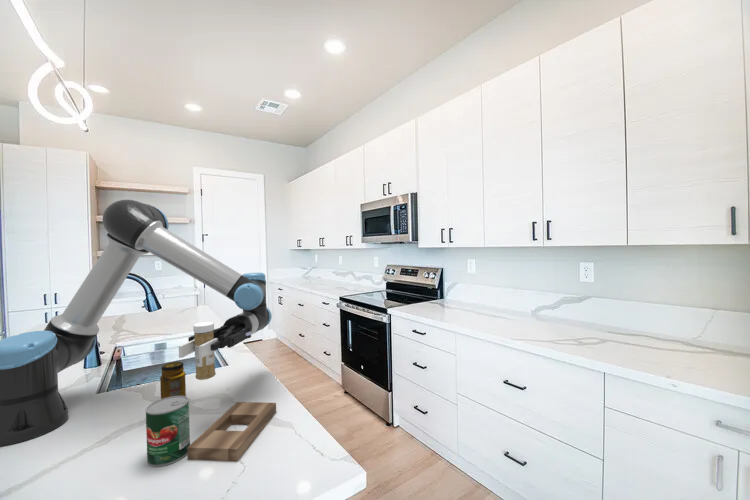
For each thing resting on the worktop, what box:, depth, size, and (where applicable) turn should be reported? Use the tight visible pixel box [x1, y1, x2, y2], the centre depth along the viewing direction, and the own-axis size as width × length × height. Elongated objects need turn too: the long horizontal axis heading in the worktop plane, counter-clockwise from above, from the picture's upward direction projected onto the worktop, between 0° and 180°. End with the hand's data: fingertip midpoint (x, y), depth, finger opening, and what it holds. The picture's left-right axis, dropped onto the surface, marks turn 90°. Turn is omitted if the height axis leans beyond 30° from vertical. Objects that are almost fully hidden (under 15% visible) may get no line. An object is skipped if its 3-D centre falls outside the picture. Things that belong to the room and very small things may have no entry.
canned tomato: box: [145, 395, 191, 468], centre depth 70 cm, size 8×8×11 cm
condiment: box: [159, 361, 191, 401], centre depth 91 cm, size 7×8×12 cm
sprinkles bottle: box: [193, 321, 217, 381], centre depth 81 cm, size 5×5×14 cm
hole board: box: [187, 401, 277, 462], centre depth 78 cm, size 11×20×2 cm, turn 174°
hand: (190, 351), depth 76 cm, fingers closed on sprinkles bottle, 4 cm apart
